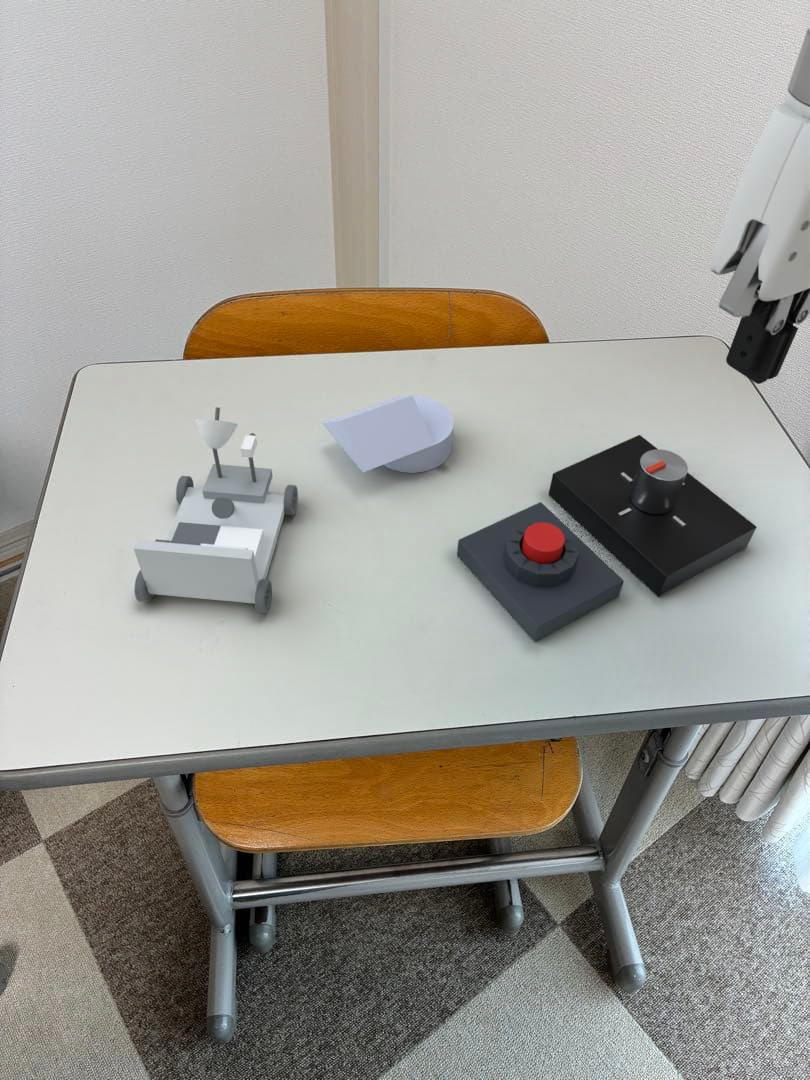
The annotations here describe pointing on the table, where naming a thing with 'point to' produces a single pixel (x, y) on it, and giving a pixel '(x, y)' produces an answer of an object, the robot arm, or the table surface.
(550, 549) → the button
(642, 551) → the stove panel
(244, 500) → the toy car
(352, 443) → the wedge on round base
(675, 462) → the burner knob
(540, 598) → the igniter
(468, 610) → the table surface
